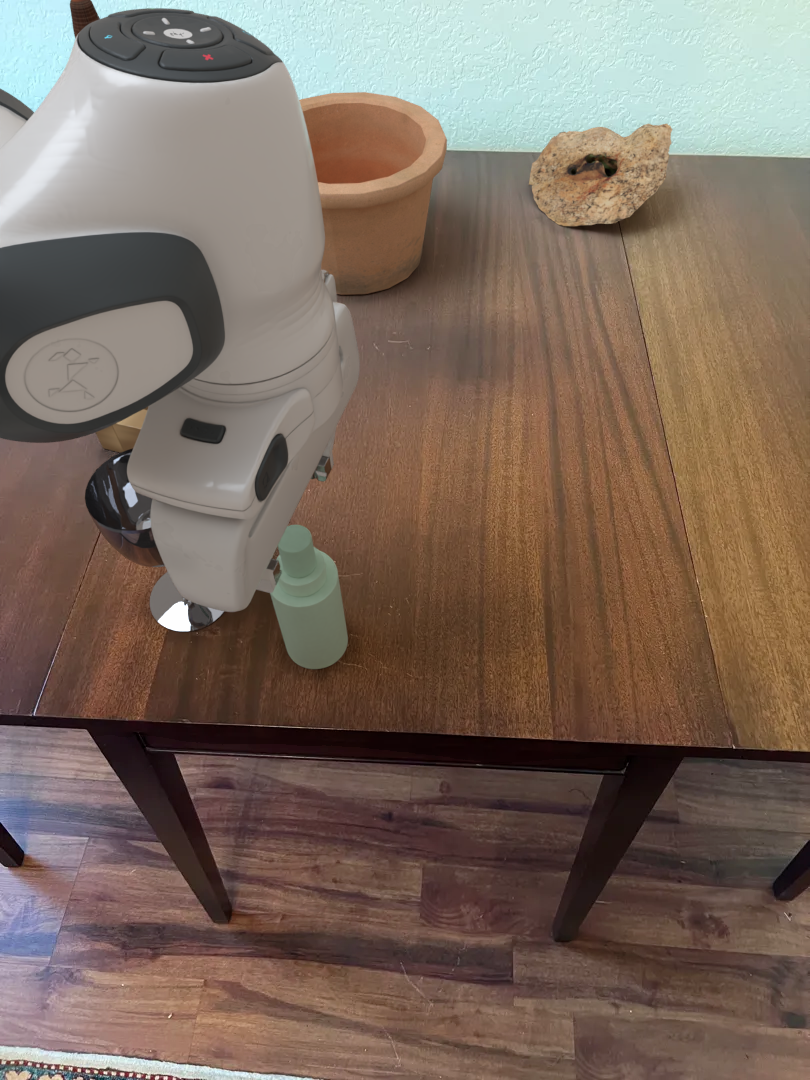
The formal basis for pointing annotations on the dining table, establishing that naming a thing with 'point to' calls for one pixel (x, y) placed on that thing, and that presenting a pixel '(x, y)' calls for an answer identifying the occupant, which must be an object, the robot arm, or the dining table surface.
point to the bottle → (309, 602)
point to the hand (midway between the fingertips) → (293, 524)
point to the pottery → (372, 184)
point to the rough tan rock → (599, 174)
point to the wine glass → (139, 541)
